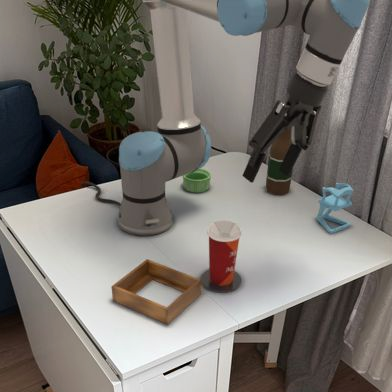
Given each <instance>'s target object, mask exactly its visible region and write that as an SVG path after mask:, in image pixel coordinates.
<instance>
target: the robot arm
mask: <svg viewBox="0 0 392 392" xmlns="http://www.w3.org/2000/svg"><path fill="white" fill-rule="evenodd" d="M142 3H143V4H144V5H145V6H146V7H147V8H148V9H149V12H150V22H151V31H152V39H153V48H154V57H155V67H156V76H157V87H158V94H159V102H160V111H161V118H160V120H159V121H158V122H157V124H156V127H157V132H156V131H153V130H152V131H151V130H150V131H149V130H145V131H144V132H143V131H137V132H134V133H132V134H129V135H128V136H126V137H124V138H123V139H122V140H121V142H120V144H119V147H118V163H119V168H120V182H121V192H122V199H121V202H120V201H117V200H114V199H110V198H103V197H100V196H99V195H100V194H101V192H102V188H101V187H100V186H99V185H97V184H95V183H93V182H90V181H87V180H86V181H82V182H81V183H80V186H82V187H83V186H84V185H89V186H91V187H93V188H95V189H96V190H97V192H96V193H95V199H96V200H98V201H100V202H104V203H112V204H115V205H118V206H119V210H118V214H117V223H118V227H119V228H120V230H122V231H123V232H125V233H127V234H130V235H134V236H139V237H141V236H144V237H149V236H157V235H159V234H162V233H164V232H166V231H167V230H169V229H170V228H171V227H172V225H173V212H172V211H171V208H170V206H169V203H168V202H169V201H168V199H167V197H166V183H167V182H169V181H172V180H175V179H177V178H181V177H183V175H186V174H188V173H193V172H195V171H196V170H198V169H200V168H202V169H203V167H204V166H205V165H206V164H207V163H208V161H209V160H210V157H211V152H212V141H211V137H210V134H208V130H207V129H206V128H205V127H204V126H203V125H201V124H202V123H201V119H200V118H199V117H197V116H196V115H195V108H194V106H195V105H194V94H193V93H194V92H193V81H192V69H191V68H192V66H191V53H190V41H189V40H190V39H189V26H188V25H189V24H188V13H187V12H190V13H193V14H196V15H199V16H201V17H204V18H207V19H210V20H213V21H216V22H217V23H219V24H220V26H221V27H222V28H223V30H224V31H225V33H226V34H228V35H230V36H233V37H237V36H243V37H248V36H250V35H254V34H257V33H261V32H266V31H270V30H274V29H279V28H285V27H288V26H292V27H295V28H297V29H298V30H300V31H301V32H303V33H304V34H306V35H309V37H308V40H307V42H306V43H305V46H304V49H303V51H302V53H301V55H300V57H299V59H298V62H297V64H296V66H295V69H296V71H295V72H293V74H292V76H291V78H290V81H289V83H288V85H287V87H286V93H287V94H288V98H287V100H286V102H283V101H282V100H280V99H278V100H277V101H275V104H274V106H273V108H272V110H271V111H270V113H269V114H268V115H267V117H266V118H265V119H264V121H263V122H262V124H261V125H260V127H259V128H258V129H257V131H256V132H255V133H254V135H253V136H252V137H251V139H250V140H249V142H248V146H249V147H251V148H252V152H251V154H250V157H249V159H248V160H247V164H246V166H245V168H244V171H243V173H242V174H241V175H242V177H243V178H244V179H245V180H247V181H248V182H249V183H250V184H252V183H254V182H255V180H256V177H257V175H258V173H259V171H260V169H261V166H262V164H263V162H264V159H265V158H266V153H265V152H266V151H267V150H268V149H270V148H271V146H272V144H273V142H274V141H275V140H276V139H277V138H278V137H279V136H280V135H281V134H282V133H283V132H284V131H285V130H288V129H289V128H290V127H292V128H293V129H294V130H293V131H294V133H293V134H294V135H293V136H294V137H293V138H294V139H293V140H294V141H293V143H292V144H291V145H290V147H289V149H288V151H287V153H286V155H285V158H284V160H283V162H282V164H281V166H280V168H279V171H281V172H282V173H283V174H285V175H286V176H289V174H290V172H291V170H292V168H293V169H294V166H295V164H296V162H297V161H298V158H299V157H300V154H301V153H302V150H303V151H307V150H308V149H309V146H311V144H312V141H313V138H314V134H315V130H316V125H317V120H318V118H319V114H320V112H321V110H322V103H323V100H324V99H325V97H326V95H327V93H328V91H329V88H328V86H329V85H331V84H332V82H333V80H334V78H335V77H336V76H337V75H338V71H339V68H340V66H341V64H342V63H343V60H344V58H345V55H346V54H347V51H348V50H349V48H350V46H351V44H352V42H353V40H354V38H355V37H356V34H357V32H358V31H359V29H360V28H361V26H362V23H363V20H364V18H365V16H366V13H367V11H368V8H369V7H370V3H371V0H142Z"/></svg>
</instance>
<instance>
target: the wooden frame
mask: <svg viewBox="0 0 392 392" xmlns="http://www.w3.org/2000/svg"><path fill="white" fill-rule="evenodd" d="M152 281H154V282H157V283H160V284H162V285H164V286H167V287H169V288H170V287H171V288H173V289H175V290H177V291H180V292H182V293H181V294H180V295H179V296H178V297H177V298H176V299H175V300H174V301H172V302H171V303H170V304H169V305H167V306H165V305H162V304H160V303H158V302H156V301H153V300H151V299H148V298H147V297H146V298H145V297H143V296H142V295H138V294H137V293H138V292H139V291H141V290H142V289H143V288H144V287H146V286H147V285H148V284H149V283H151V282H152ZM110 288H111V296H112V297H111V298H112V301H113V302H116V303H118V304H120V305H122V306H125V307H127V308H129V309H132V310H134V311H137V312H139V313H141V314H143V315H145V316H148V317H149V318H152V319H155V320H156V321H159V322H162V323H164V324H166V325H170V324H171V323H172V322H173V321H174V320H175V319H176V318H177V317H178V316H179V315H180V314H181V313H182V312H184V311H185V310H186V309H187V308H188V307H189V306H190V305H191V304H192V303H193V302H194V301H195V300H196V299H198V298H199V296H200V295H202V284H201V279H200V278H197V277H195V276H193V275H190V274H188V273H185V272H182V271H180V270H177V269H175V268H171V267H169V266H167V265H165V264H162V263H159V262H156V261H153V260H151V259H148V258H146V259H145V260H144V261H142V262H141V263H140V264H138V265H137V266H136V267H135V268H134V269H132V270H130V271H129V272H128V273H127V274H126V275H124V276H123V277H122V278H119V280H117V282H115V283H114V284H112V285H111V287H110Z"/></svg>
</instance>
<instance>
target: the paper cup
mask: <svg viewBox="0 0 392 392" xmlns="http://www.w3.org/2000/svg"><path fill="white" fill-rule="evenodd" d="M206 231H207V236H208V263H209V265H208V266H209V268H208V269H210V280H211V282H212V283H213V284H215V285H219V286H225V285H228V284H230V283H231V282H232V280H233V276H234V271H235V269H236V264H237V263H236V262H237V257H238V256H237V255H238V249H239V244H240V238H241V237H242V231H241V229H240V226H239V224H237V223H236V222H234V221H230V220H217V221H214V222H212V223H211V224H210V225H209V228H208V229H207V230H206Z"/></svg>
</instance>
